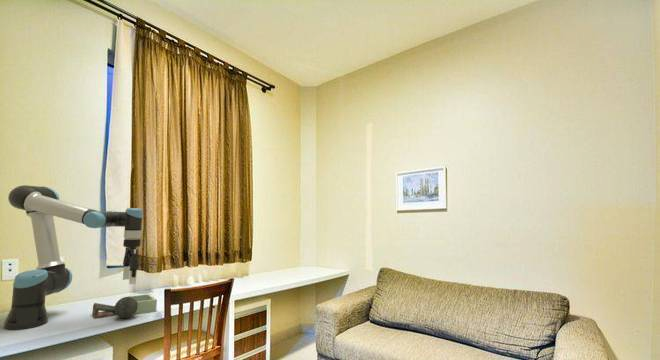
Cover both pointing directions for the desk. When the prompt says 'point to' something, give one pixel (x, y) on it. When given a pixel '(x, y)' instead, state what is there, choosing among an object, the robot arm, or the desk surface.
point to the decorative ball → (126, 307)
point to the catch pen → (145, 303)
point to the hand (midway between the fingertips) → (129, 281)
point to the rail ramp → (106, 309)
